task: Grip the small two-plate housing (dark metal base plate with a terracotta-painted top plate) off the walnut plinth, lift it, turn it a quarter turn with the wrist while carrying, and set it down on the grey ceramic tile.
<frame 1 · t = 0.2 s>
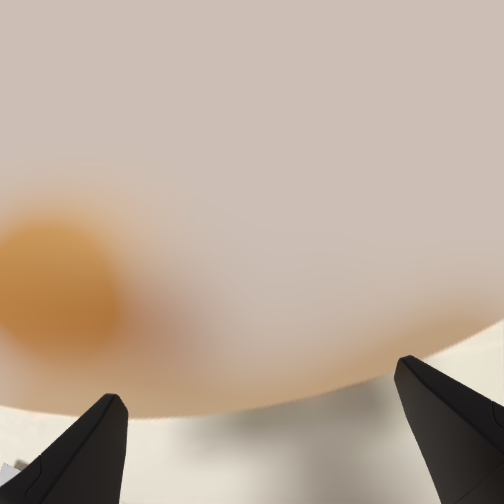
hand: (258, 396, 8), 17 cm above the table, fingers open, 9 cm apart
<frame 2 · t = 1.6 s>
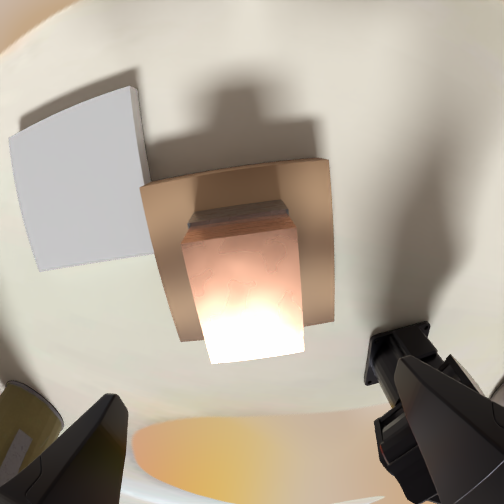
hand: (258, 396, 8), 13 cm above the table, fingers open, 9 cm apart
ceramic tile: (80, 184, 18), on the table
walnut plinth: (245, 247, 20), on the table
housing: (245, 261, 18), point 2 cm above the table, touching walnut plinth
canister: (35, 405, 27), on the table
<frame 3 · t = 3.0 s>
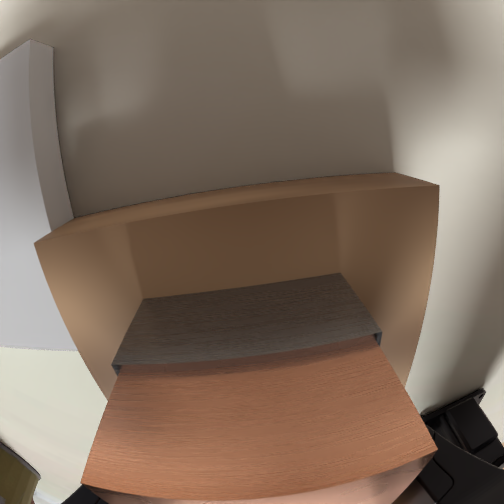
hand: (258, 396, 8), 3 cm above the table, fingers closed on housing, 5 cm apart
walnut plinth: (252, 336, 11), on the table
housing: (256, 384, 8), point 2 cm above the table, touching gripper, walnut plinth
canister: (7, 454, 18), on the table
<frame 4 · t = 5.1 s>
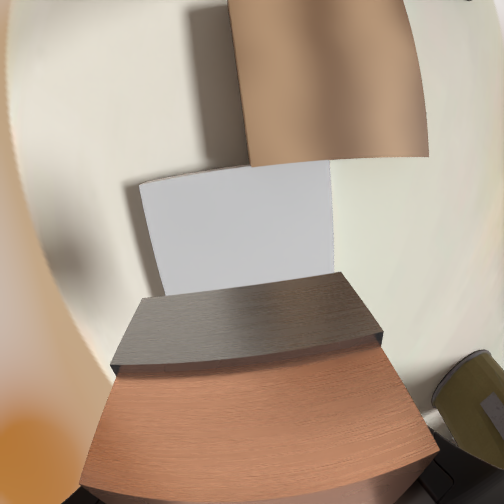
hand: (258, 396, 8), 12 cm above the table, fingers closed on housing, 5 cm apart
ceramic tile: (245, 250, 19), on the table
walnut plinth: (326, 72, 15), on the table
housing: (256, 384, 8), point 11 cm above the table, touching gripper
canister: (461, 378, 27), on the table
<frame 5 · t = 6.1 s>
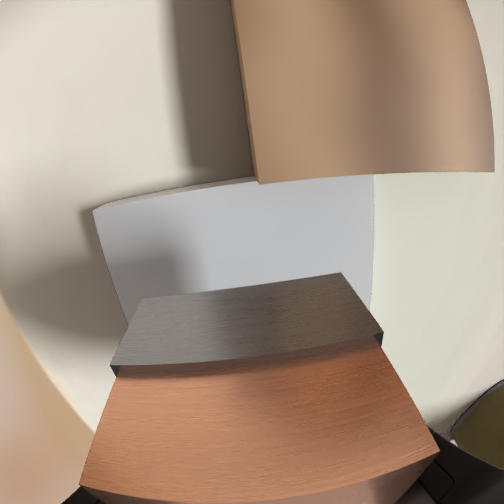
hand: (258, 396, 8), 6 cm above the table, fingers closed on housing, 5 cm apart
ceramic tile: (247, 298, 13), on the table
walnut plinth: (363, 48, 9), on the table
housing: (256, 384, 8), point 6 cm above the table, touching gripper
canister: (482, 408, 22), on the table
when the fingers open (3 cm above the table, at t = 7.1 s): housing drops 1 cm, resting on ceramic tile.
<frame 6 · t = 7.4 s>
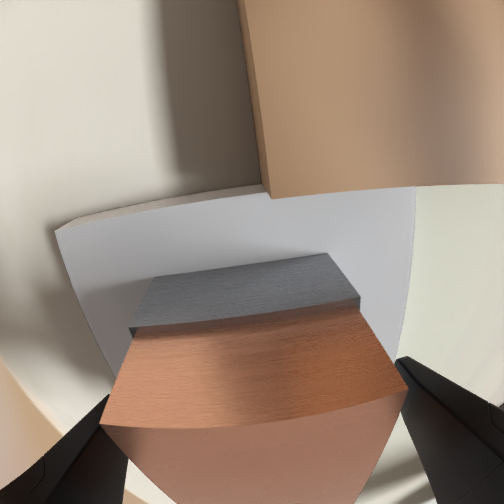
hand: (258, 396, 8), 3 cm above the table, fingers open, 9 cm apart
ceramic tile: (251, 334, 11), on the table
walnut plinth: (395, 27, 7), on the table
housing: (255, 358, 9), point 1 cm above the table, touching ceramic tile
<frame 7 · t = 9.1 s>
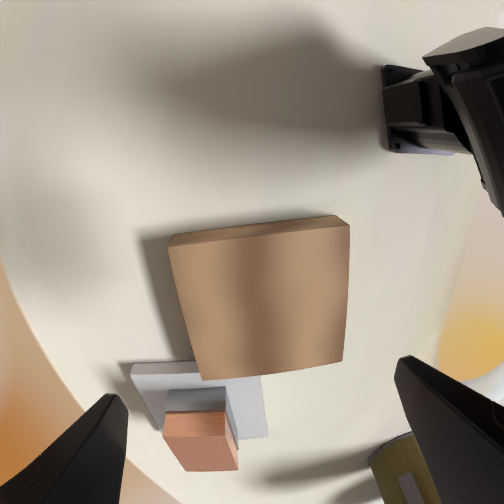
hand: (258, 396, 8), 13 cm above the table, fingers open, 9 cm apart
ceramic tile: (205, 401, 25), on the table
walnut plinth: (263, 296, 21), on the table
housing: (205, 412, 23), point 1 cm above the table, touching ceramic tile
canister: (396, 447, 34), on the table
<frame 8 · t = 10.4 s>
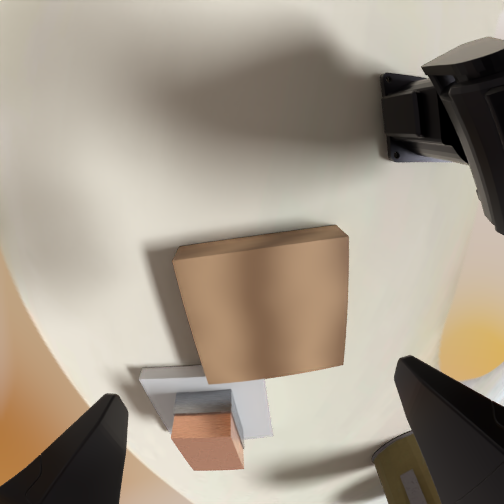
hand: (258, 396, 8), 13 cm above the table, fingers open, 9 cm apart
ceramic tile: (212, 402, 26), on the table
walnut plinth: (266, 304, 22), on the table
housing: (212, 413, 24), point 1 cm above the table, touching ceramic tile
canister: (399, 445, 34), on the table
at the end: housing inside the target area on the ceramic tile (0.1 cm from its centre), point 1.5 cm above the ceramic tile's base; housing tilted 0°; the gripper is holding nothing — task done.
